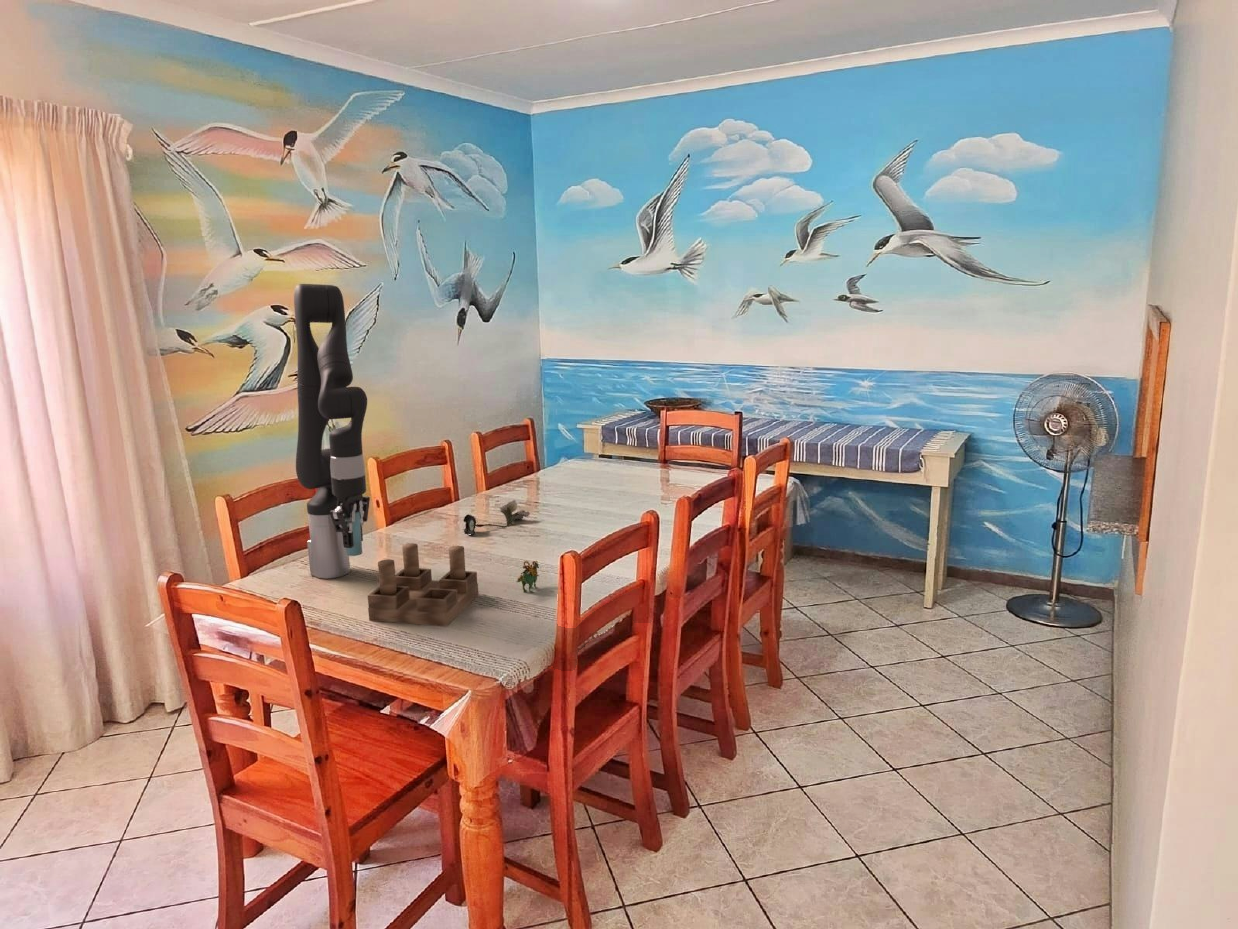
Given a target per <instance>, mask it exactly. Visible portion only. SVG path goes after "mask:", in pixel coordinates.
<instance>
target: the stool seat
mask: <svg viewBox="0 0 1238 929" xmlns="http://www.w3.org/2000/svg"><path fill="white" fill-rule="evenodd" d="M401 546H402V558H403V569H402V570H400V571H399V572H398V573H396V564H395V560H394V559H389V558H388V559H382V560H379V561H378V562H377V566H378V568H377V570H378V580H379V586H378V587H377V588H376V589H375V590H373V591H372V592H370V593H369V594H368V595H367V602H368V604H367V605H368V607H367V610H368V620H369V621H371V622H372V621H373V622H374V621H375V622H389V623H399V624H411V625H424V626H426V625H427V626H437V627H438V626H439V627H447V626H449V625H450V624H451V623H452V622H453V621H454V620H455V619H456V618H457V617H458V616H459V615H460V614H461V613H462V612H463V611H464V610H465V609H466V608H467V607H468V606H469V605H470V604H471V603H472V602H473V601H474V600H475V599H476V598H477V597H478V596H480V595H479V583H478V572H477V571H469V570H466V559H465V556H466V555H465V547H464V546H463V545H452V546H450V547H448V559H449V571H448V572H447V573H446V574H444V575H443V576H442V577H441V578H440V579H439V580H435V579H434V580H432V579H433V578H432V569H431V568H421V567H420V562H419V561H420V560H419V559H420V558H419V545H418V544H417V543H415V542H411V543H409V542H408V543H406V544H402V545H401Z"/></svg>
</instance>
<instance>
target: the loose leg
mask: <svg viewBox="0 0 1238 929" xmlns="http://www.w3.org/2000/svg"><path fill="white" fill-rule="evenodd" d="M344 519H350V518H348V517H344ZM346 525H347V528H348V523H346ZM352 532H353V544H354V546H353V547H352V548H346V555H348V556H349V557H355V556H360V555H363V543H362V542H363V541H361V527H360V514H359V512H356V513H355V522H354V523H353V525H352Z"/></svg>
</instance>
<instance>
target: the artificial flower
mask: <svg viewBox="0 0 1238 929" xmlns="http://www.w3.org/2000/svg"><path fill="white" fill-rule="evenodd" d="M498 508H499V509H500V512H501V513H502V514H503V515H504V517H505V521H506V525H500V524H494V523H493V524H492V523H488V524H487V523H486V524H483V523H482V524H481V523H480V524H477V520H476V516H474V515H471V514H465V516H464V518H463V522H464V523H465V528H463V529H462V530H463V533H464V535H465V534H467V535H468V534H471V535H468V536H469V537H470V536H474V535H475V534H476V530H475V529H476V527H477V528H482V527H490V526H491V527H499V528H508V527H509V526H510V525H512V524H513V523H514V521H515V520H523V519H524V517H526V518H528V517H529V516H530V514H531V513H530V511H525V509H524V510H519V511H517V509H518V503H517V501H516V500H515V499H514V500H512V501H509V502H507V503H506V504H504V505H502V506H498ZM515 511H516V512H515ZM513 512H514V513H513ZM514 519H515V520H514ZM507 526H508V527H507Z"/></svg>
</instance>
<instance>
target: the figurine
mask: <svg viewBox="0 0 1238 929" xmlns="http://www.w3.org/2000/svg"><path fill="white" fill-rule="evenodd" d="M539 565H540V564H539V562H538V561H537V560H532V562H531V564H530V561H527V560H524V561H523V566H522V569H524V570H523V571H522V572H520V575H519V576H518V578H517V580H516V582H515V583H520V582H521V585H522V591H523V593H525V592H528V594H530V593H534V591H533V590H531V588H533V587H534V589H537V588H538V586H537V584H536V583H537V579H538V577H540V574H538V569H539V568H540V567H539ZM527 584H528V590H529V591H528V590H526V588H525V587H526V585H527Z"/></svg>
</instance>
